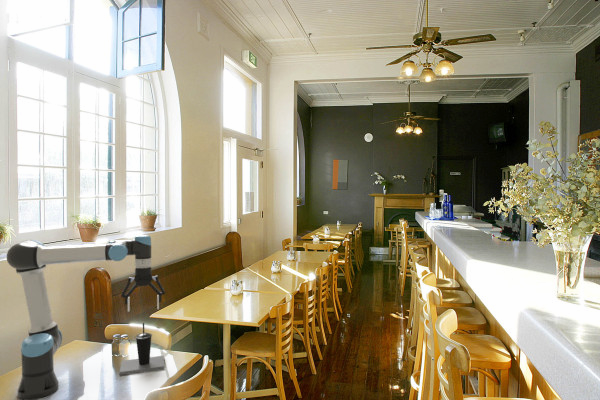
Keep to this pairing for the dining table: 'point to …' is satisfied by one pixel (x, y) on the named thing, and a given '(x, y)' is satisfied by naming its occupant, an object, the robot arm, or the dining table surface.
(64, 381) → the dining table surface
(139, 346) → the drinking cup
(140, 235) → the robot arm
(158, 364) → the slate board
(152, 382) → the dining table surface
